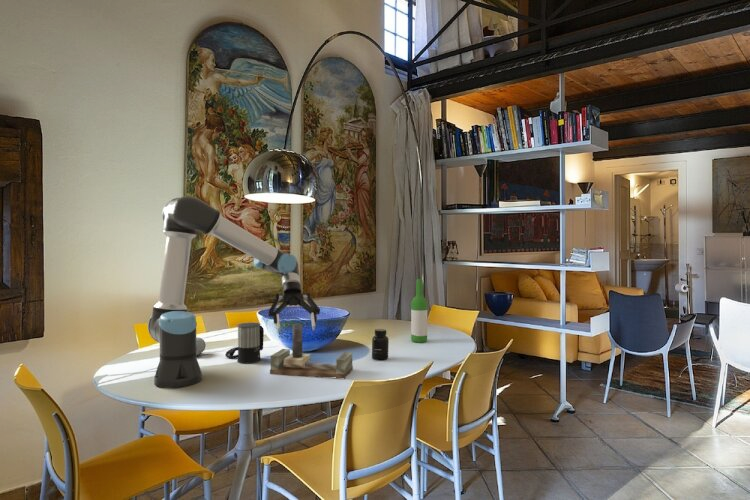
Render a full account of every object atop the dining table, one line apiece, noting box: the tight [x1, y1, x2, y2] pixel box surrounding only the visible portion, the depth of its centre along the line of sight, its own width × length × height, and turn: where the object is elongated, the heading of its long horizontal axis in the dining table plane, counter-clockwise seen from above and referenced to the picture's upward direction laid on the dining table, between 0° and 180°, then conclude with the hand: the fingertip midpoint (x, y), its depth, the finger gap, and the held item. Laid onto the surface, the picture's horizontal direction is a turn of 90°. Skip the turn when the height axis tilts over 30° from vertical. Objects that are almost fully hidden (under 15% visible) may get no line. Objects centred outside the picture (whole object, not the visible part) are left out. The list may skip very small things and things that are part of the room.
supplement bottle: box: [371, 328, 390, 361], centre depth 192 cm, size 7×7×12 cm
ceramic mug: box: [196, 336, 206, 356], centre depth 196 cm, size 11×8×8 cm
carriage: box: [284, 323, 311, 368], centre depth 174 cm, size 7×9×16 cm
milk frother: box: [224, 322, 265, 364], centre depth 190 cm, size 14×16×15 cm
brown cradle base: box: [269, 348, 354, 379], centre depth 173 cm, size 28×12×6 cm, turn 78°
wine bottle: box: [410, 278, 428, 344], centre depth 224 cm, size 8×8×30 cm
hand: (296, 329), depth 180 cm, fingers open, 13 cm apart
